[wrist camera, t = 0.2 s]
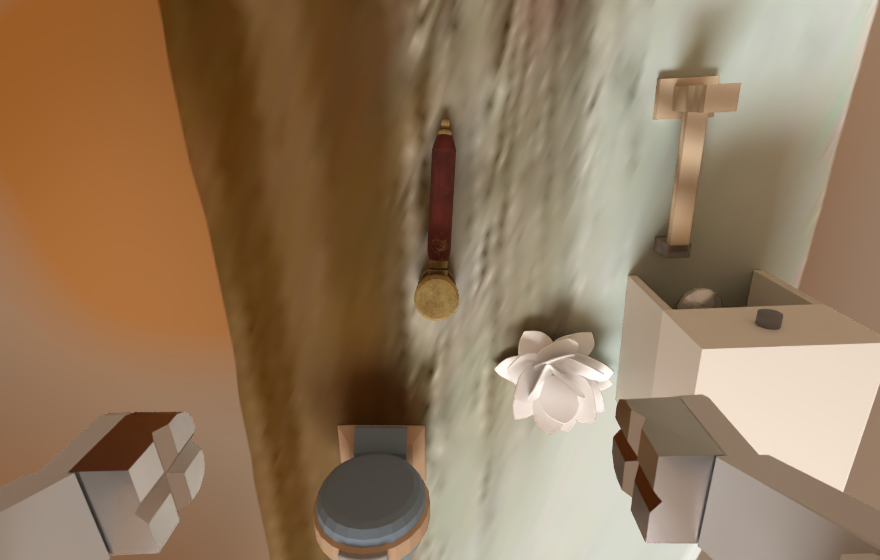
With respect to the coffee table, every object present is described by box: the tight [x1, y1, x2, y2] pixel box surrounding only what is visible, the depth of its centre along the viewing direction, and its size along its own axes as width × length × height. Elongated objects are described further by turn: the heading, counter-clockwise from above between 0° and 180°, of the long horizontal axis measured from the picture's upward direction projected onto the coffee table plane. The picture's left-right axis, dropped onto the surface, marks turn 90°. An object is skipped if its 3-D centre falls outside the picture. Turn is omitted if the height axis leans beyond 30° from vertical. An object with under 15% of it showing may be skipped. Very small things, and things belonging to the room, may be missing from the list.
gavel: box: [414, 119, 459, 321], centre depth 52 cm, size 21×5×10 cm, turn 177°
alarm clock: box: [313, 425, 430, 560], centre depth 60 cm, size 14×10×18 cm
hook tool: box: [653, 76, 741, 258], centre depth 49 cm, size 19×6×8 cm, turn 3°
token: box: [677, 288, 722, 310], centre depth 58 cm, size 5×5×1 cm
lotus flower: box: [495, 331, 614, 435], centre depth 58 cm, size 14×15×9 cm
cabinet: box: [616, 270, 880, 492], centre depth 52 cm, size 19×16×18 cm
